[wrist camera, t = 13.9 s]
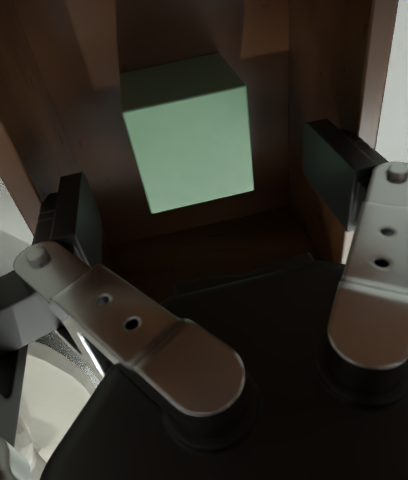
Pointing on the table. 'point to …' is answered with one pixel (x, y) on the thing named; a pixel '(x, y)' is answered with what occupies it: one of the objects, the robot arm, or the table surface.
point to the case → (172, 50)
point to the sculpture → (48, 404)
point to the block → (188, 131)
